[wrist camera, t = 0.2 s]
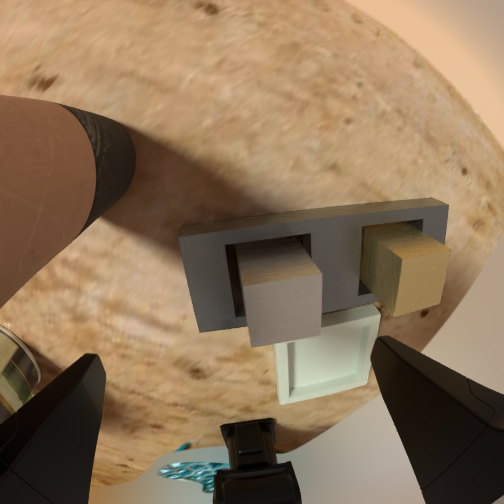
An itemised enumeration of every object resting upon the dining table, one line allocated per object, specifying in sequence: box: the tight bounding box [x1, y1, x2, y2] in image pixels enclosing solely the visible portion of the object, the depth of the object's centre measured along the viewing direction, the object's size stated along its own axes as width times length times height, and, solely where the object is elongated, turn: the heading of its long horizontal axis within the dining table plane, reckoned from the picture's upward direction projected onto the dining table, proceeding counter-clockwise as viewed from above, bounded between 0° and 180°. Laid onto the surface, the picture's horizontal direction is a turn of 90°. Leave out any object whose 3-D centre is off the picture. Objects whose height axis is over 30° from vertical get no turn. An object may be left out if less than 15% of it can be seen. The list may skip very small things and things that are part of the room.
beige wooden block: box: [359, 221, 451, 318], centre depth 21 cm, size 4×4×7 cm
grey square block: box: [235, 235, 322, 348], centre depth 20 cm, size 4×4×7 cm
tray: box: [273, 304, 381, 405], centre depth 27 cm, size 10×10×2 cm
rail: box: [178, 198, 449, 333], centre depth 23 cm, size 8×22×2 cm, turn 96°
